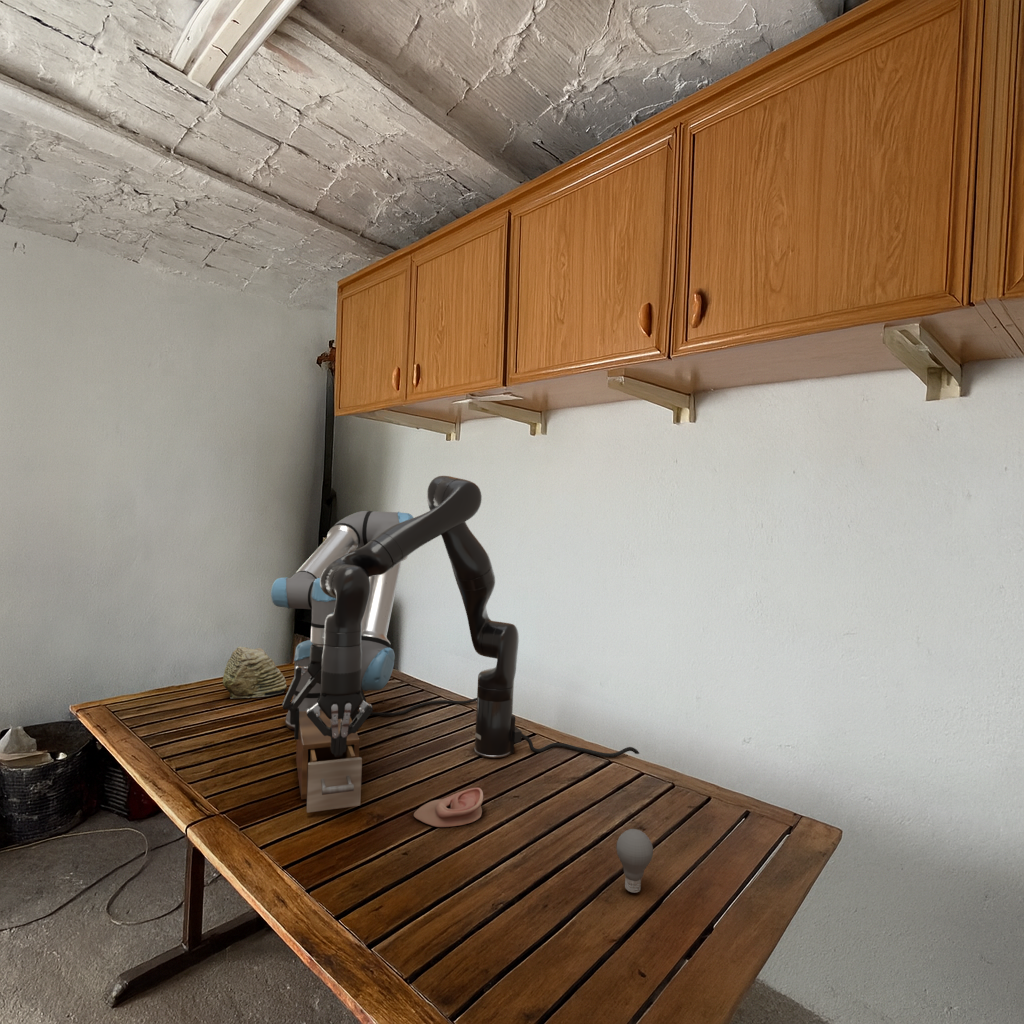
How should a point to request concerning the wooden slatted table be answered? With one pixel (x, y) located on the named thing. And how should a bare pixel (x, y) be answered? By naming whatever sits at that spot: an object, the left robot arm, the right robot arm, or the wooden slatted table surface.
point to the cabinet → (315, 745)
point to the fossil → (252, 674)
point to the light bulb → (634, 857)
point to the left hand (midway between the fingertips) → (323, 735)
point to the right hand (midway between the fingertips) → (338, 754)
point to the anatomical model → (452, 809)
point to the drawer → (333, 779)
